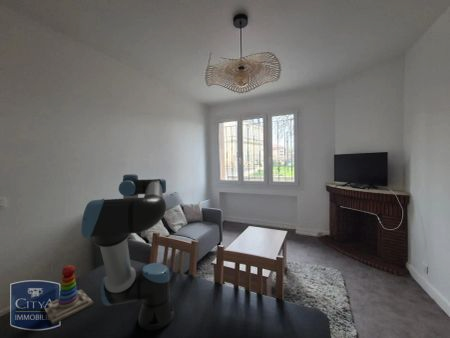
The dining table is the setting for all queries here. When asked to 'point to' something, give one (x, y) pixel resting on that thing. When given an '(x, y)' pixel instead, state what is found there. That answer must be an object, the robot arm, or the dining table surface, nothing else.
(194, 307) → the dining table surface
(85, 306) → the rectangular beige tray
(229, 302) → the dining table surface
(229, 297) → the dining table surface
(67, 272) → the stacking toy
